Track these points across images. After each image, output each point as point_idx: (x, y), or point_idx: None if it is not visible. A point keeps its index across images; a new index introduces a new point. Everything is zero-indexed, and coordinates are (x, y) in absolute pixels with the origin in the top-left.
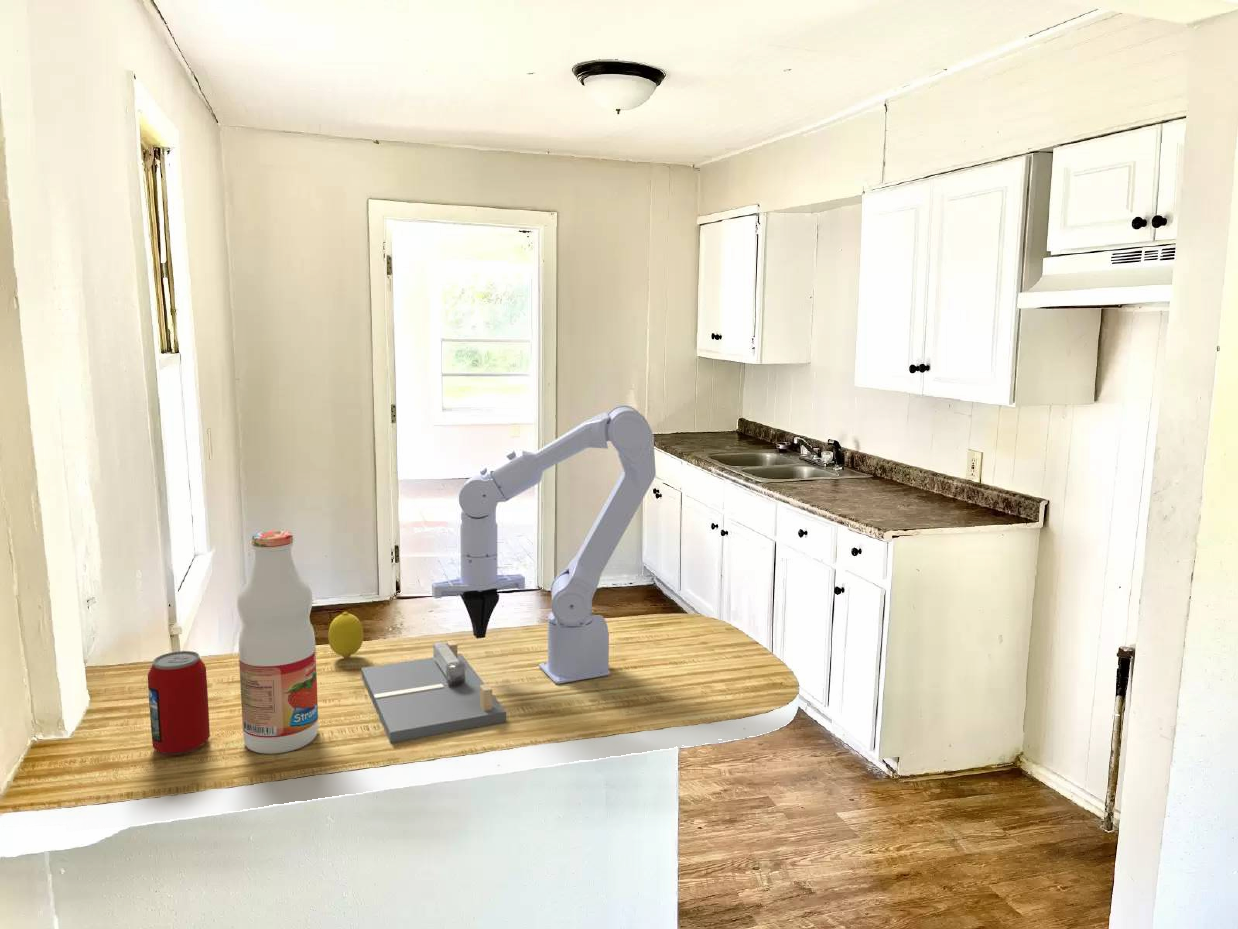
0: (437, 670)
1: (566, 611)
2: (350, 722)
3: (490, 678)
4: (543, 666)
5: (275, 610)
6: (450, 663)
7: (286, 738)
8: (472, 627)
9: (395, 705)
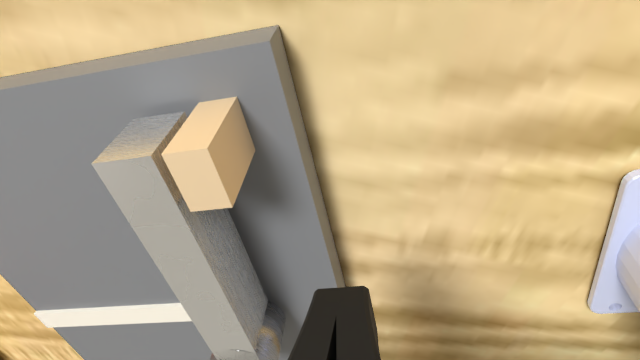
0: None
1: None
2: (39, 332)
3: (387, 214)
4: (630, 207)
5: None
6: (222, 354)
7: None
8: (303, 324)
9: (116, 356)
